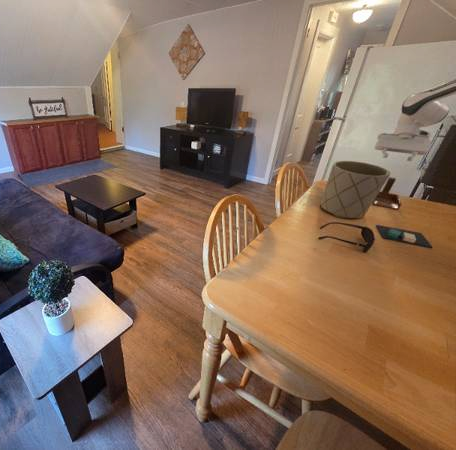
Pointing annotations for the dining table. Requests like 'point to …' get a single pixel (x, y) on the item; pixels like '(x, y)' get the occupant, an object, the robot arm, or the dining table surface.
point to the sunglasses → (365, 233)
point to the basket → (388, 196)
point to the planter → (352, 188)
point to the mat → (419, 238)
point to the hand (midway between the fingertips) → (397, 158)
